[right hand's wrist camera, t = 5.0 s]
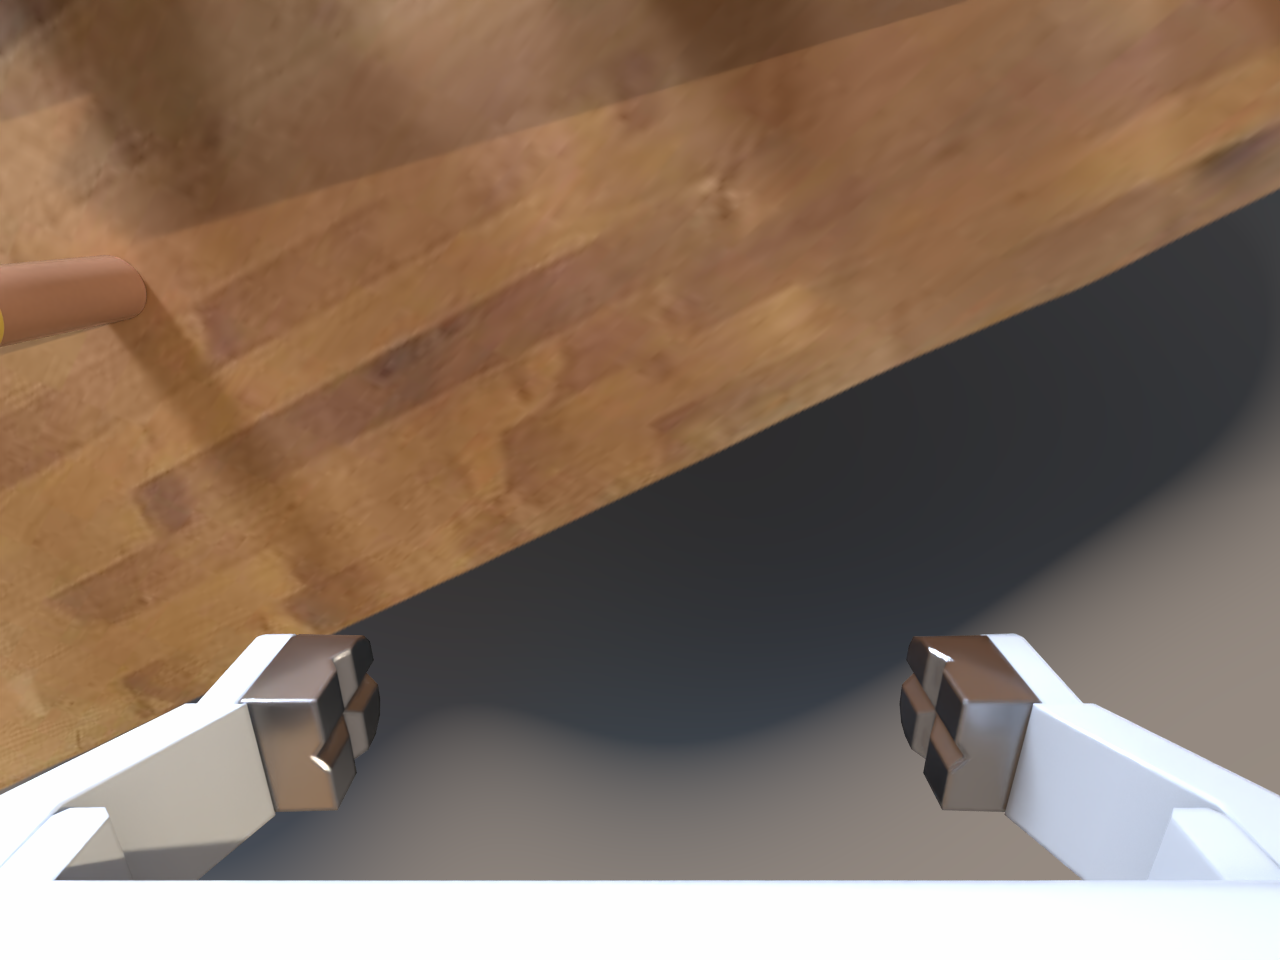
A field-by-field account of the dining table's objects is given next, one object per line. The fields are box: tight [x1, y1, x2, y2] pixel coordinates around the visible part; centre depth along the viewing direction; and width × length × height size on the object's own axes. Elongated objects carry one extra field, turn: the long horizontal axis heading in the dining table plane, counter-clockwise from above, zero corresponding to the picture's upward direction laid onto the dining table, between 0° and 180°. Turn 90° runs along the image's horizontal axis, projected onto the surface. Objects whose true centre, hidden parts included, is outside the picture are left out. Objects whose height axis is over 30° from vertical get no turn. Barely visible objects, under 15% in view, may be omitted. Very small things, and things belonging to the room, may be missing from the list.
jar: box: [0, 255, 147, 347], centre depth 48 cm, size 5×5×16 cm
